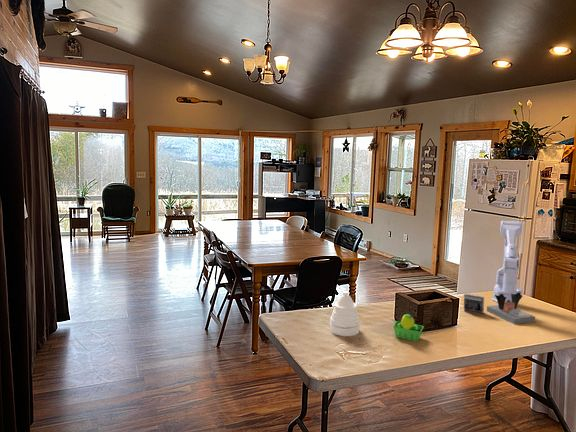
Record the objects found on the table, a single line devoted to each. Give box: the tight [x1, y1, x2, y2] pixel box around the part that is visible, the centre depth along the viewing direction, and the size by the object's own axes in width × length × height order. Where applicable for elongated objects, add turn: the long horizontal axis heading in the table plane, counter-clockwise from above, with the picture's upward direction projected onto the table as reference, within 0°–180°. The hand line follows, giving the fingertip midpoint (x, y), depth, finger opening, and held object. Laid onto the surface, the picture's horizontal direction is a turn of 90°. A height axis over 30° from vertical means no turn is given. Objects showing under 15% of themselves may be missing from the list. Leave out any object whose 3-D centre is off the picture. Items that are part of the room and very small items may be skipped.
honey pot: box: [329, 290, 360, 337], centre depth 192 cm, size 13×13×18 cm
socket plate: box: [486, 304, 536, 325], centre depth 213 cm, size 18×12×2 cm, turn 16°
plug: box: [503, 300, 515, 312], centre depth 215 cm, size 4×4×7 cm
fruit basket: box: [392, 313, 424, 342], centre depth 185 cm, size 11×9×11 cm
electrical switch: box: [463, 292, 485, 315], centre depth 218 cm, size 9×5×9 cm, turn 57°
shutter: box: [509, 307, 531, 318], centre depth 208 cm, size 6×6×2 cm
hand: (507, 308), depth 215 cm, fingers open, 7 cm apart
